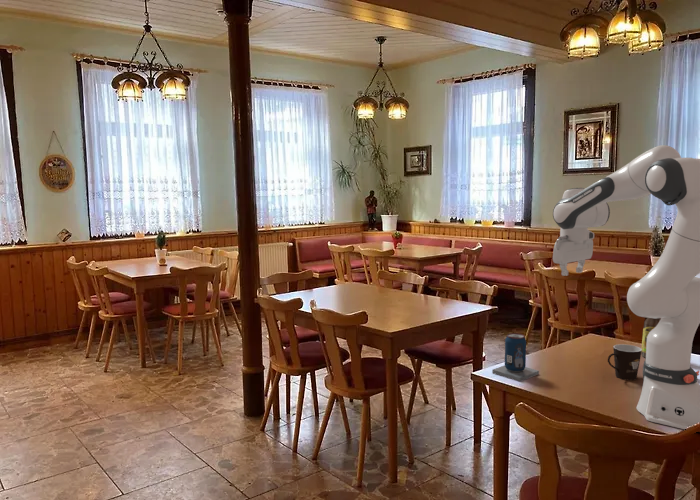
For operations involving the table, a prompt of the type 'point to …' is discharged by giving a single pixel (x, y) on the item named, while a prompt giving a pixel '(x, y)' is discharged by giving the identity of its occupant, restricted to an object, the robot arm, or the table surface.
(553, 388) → the table surface
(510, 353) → the soda can
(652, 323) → the sauce bottle
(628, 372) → the coffee mug
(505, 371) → the slate board
